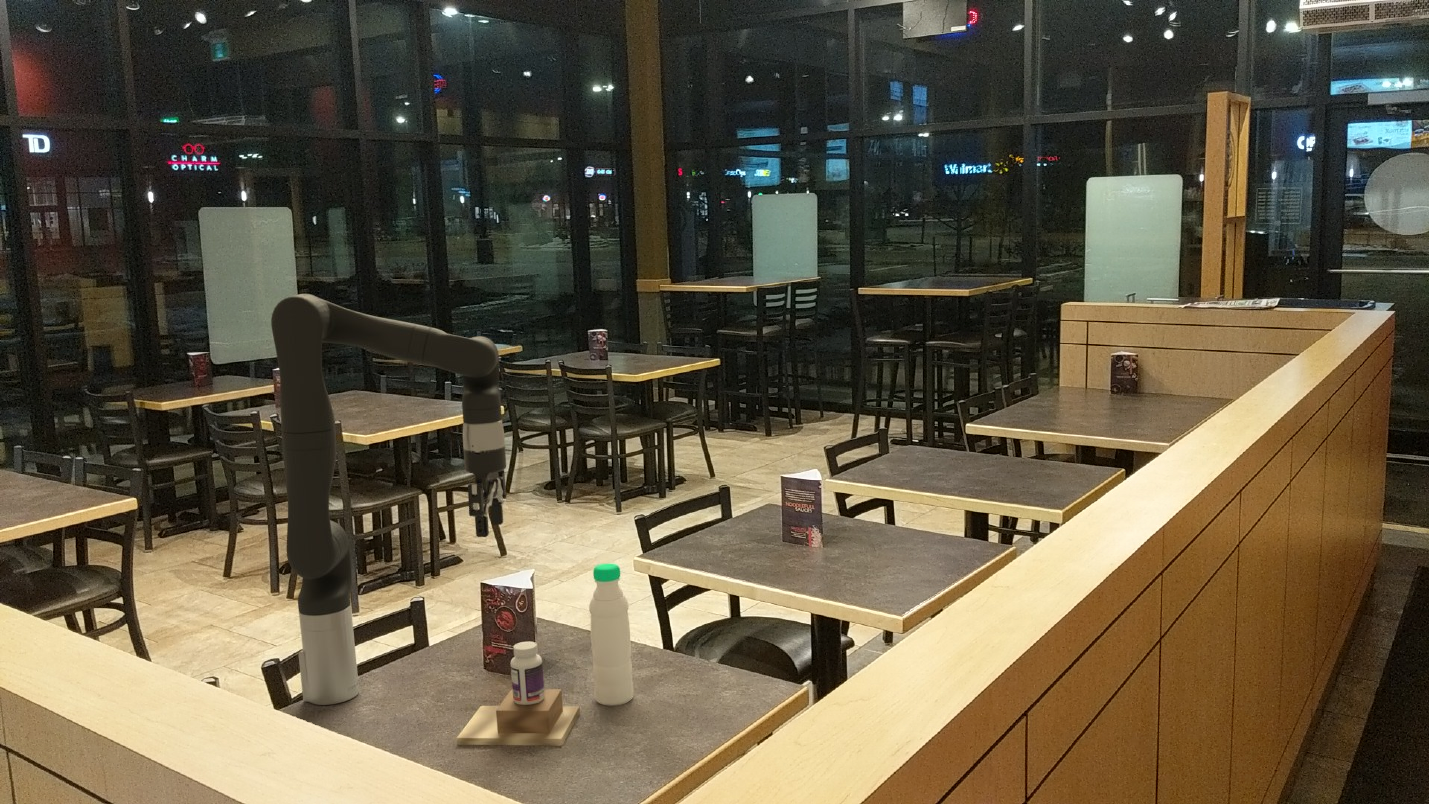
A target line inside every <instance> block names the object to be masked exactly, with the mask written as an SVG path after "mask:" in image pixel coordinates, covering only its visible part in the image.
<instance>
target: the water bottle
mask: <svg viewBox="0 0 1429 804" xmlns="http://www.w3.org/2000/svg"><path fill="white" fill-rule="evenodd" d="M592 575H593V580H594V582H595V583H596V587H595V589H594V591H593V594H592V597H591V599H590V601H589V605H588V608H589V614H590V639H591V640H590V641H591V642H590V643H591V651H592V658H593V665H592V666H593V667H592V669H593V670H592V671H593V673H592V674H593V679H594V685H593V686H594V687H593V688H594V689H593V690H594V700H595V701H596V702H597V703H599V704H600V705H603V706H608V707H609V706H610V707H612V706H613V707H614V706H621V705H624V704H627V703H628V702H630V701H631V700H632V699H633V697H634V693H635V692H634V683H633V665H632V664H633V663H632V660H631V655H632V654H631V649H632V648H631V646H632V645H631V630H630V620H629V619H630V618H629V612H628V611H629V606H630V605H629V601H628V599H627V597H626V595H625V594H624V592H623V591H624V590H623V589H622V588H621V586H620V584H619V581H620V579H621V568H620V566H619V565H618V564H615V563H601V564H598V565H595V566H594V568H593V571H592Z"/></svg>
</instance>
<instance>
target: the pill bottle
mask: <svg viewBox="0 0 1429 804" xmlns="http://www.w3.org/2000/svg"><path fill="white" fill-rule="evenodd" d="M513 656H514V657H512V659H511V660H510V677H511V688H512V690H513V700H514V702H515V703H517V704H519V705H532V704H536V703H539V702H541V701H542V700H543V699H544V697H545V690H544V689H545V681H544V668H543V666H544V665H543V658H542V656H541V655H539V654H538V644H537V642H536V641H535V642H534V641H521V642H518V643H515V644H514V645H513Z"/></svg>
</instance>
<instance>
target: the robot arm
mask: <svg viewBox="0 0 1429 804" xmlns="http://www.w3.org/2000/svg"><path fill="white" fill-rule="evenodd" d="M270 322H271V323H270V325H271V332H272V336H273V343H274V346H275V348H274V349H275V353H276V358H277V363H278V364H277V365H278V372H279V386H280V387H279V399H280V401H279V402H280V403H279V405H280V424H281V426H280V427H281V428H280V429H281V445H282V453H283V454H282V455H283V462H284V463H283V464H284V476H285V486H286V487H285V488H286V496H287V497H286V498H287V499H286V500H287V527H286V529H287V530H286V532H287V533H286V558H287V561H288V564H289V566H290V567H291V569H292V570H293V572H294V573H295V574H296V575H298V576H299V577H301V578H302V582H301V587H300V591H299V593H298V597H297V606H298V607H297V608H298V618H299V627H300V636H301V645H302V649H301V650H300V651H299V652H298V661H299V672H300V673H299V674H300V682H301V690H302V701H303V702H308V703H311V704H313V705H317V706H327V705H336V704H340V703H343V702H347V701H349V700H352V699H353V698H355V697H357V695H358V694H359V693H360V685H359V684H360V683H359V676H358V663H357V654H356V646H355V644H356V643H355V634H354V624H353V623H354V622H353V614H352V613H353V612H352V605H351V603H352V602H351V591H352V587H353V574H352V573H353V572H352V558H351V548H350V547H351V546H350V540H349V537H348V534H347V533H346V531H345V530H344V528H343V527H342V526H341V525H340V524H339V523H337V522H335V521H333V520H331V517H330V516H331V515H330V496H331V495H330V494H331V488H332V484H333V483H332V482H333V478H334V474H335V468H336V461H337V433H336V421H335V420H336V419H335V414H334V409H333V406H332V403H331V399H330V396H329V393H328V391H327V387H326V384H325V380H324V375H323V355H322V353H323V352H322V349H323V343H325V344H338V345H339V344H341V345H346V346H353V347H357V348H361V349H363V350H367V351H371V352H373V353H377V354H378V355H379V354H380V355H382V356H385V357H387V358H391V359H395V360H398V361H402V362H407V363H411V364H416V365H421V366H427V367H434V368H437V369H441V370H444V371H447V372H450V373H454V374H456V375H460V376H462V382H463V383H462V385H463V392H462V399H461V408H462V410H461V411H462V421H463V422H462V443H463V444H462V445H463V457H464V458H463V460H464V469H465V472H466V473H469V474H473V475H474V481H473V483H468V484H467V497H468V516H470V517H473V518H474V523H475V536H476V537H477V538H487V537H488V536H489V534H490V532H489V517H488V515H490V523H491V525H492V526H498V525H499V526H500V525H502V524H503V523H504V511H503V505H504V502H505V499H507V487H506V476H505V475H506V474H505V469H506V468H507V459H506V457H507V456H506V441H505V439H506V438H505V430H504V426H503V418H502V403H501V394H500V354H499V350H498V347H497V346H496V344H495V342H493V340H492V339H490V338H488V337H486V336H478V335H477V336H473V337H464V336H461V335H457V334H456V335H455V334H451V333H447V332H445V331H443V329H442V330H441V329H439V328H435V327H431V326H426V325H422V324H417V323H414V322H413V323H411V322H406V321H402V320H396V319H391V318H386V317H379V316H376V315H375V316H374V315H370V314H366V313H363V312H358V311H355V310H352V309H349V308H345V307H343V306H340V305H338V304H335V303H332V302H330V301H328V300H325V299H322V298H320V297H318V296H315V295H314V294H310V293H299V294H293V295H291V296H288V297H285V298H283V299H281V300H280V301H279V302H278V303H277V304H276V305H275V307H274V308H273V311H272V314H271V319H270ZM488 512H489V513H490V514H488Z"/></svg>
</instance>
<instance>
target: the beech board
mask: <svg viewBox="0 0 1429 804" xmlns="http://www.w3.org/2000/svg"><path fill="white" fill-rule="evenodd" d="M499 706H500V705H480V707H479V708H478V709H477V711H476V712H475V713H474V714H473V716H472V717H471V718H470V720H469V721H468V722H467V724H465V726H464V728H463V729H462V730H461V731H460V732H459V734H458V735H457V737H456V745H458V746H461V745H462V746H464V745H465V746H467V745H469V746H545V747H546V746H549V747H550V746H551V747H552V746H553V747H554V746H559V747H560V746H563V745H564V742H565V741H566V739H567V737H568V735H569V733H570V731H571V730H572V728H573V726H574V724H575V723H576V721H577V719H578V717H579V715H580V714H581V710H580V706H579V705H578V706H577V705H575V706H573V705H572V706H570V705H569V706H567V705H566V706H563V712H562V713H561V715H560V717H559V719H558V720H557V722H556V724H555V725H554V727H553V729H552V730H551V732H550V733H498V730H497V717H496V710H497V708H498V707H499Z"/></svg>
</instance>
